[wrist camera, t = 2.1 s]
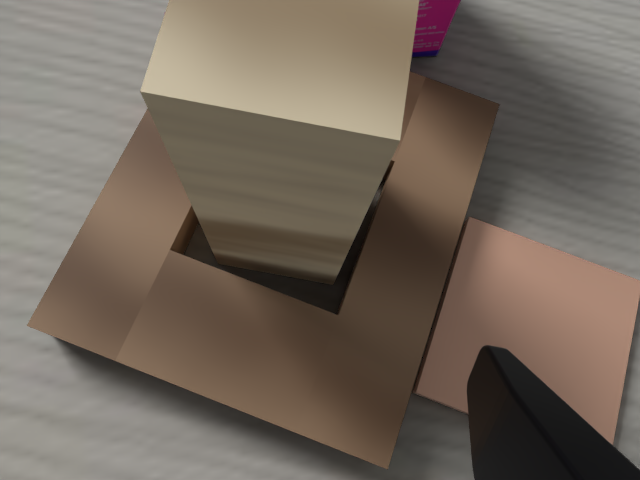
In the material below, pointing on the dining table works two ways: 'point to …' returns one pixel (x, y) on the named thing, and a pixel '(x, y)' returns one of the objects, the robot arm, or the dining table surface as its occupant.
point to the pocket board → (269, 305)
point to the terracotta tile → (532, 322)
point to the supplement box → (432, 26)
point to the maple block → (281, 121)
